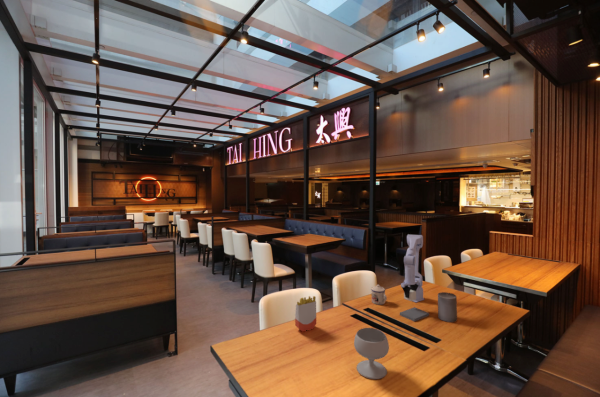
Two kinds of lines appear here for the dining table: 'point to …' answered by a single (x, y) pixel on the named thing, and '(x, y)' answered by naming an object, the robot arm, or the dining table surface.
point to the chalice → (371, 352)
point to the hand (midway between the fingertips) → (410, 296)
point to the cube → (411, 295)
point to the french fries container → (305, 314)
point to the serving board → (414, 314)
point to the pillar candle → (447, 307)
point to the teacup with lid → (378, 295)
